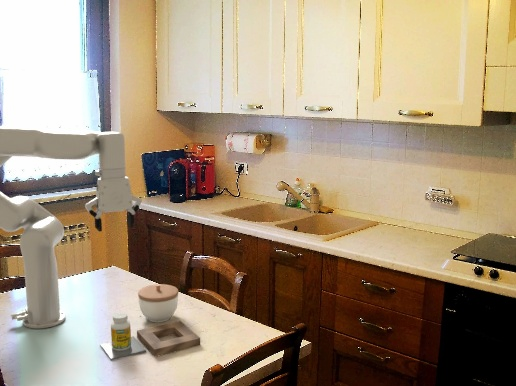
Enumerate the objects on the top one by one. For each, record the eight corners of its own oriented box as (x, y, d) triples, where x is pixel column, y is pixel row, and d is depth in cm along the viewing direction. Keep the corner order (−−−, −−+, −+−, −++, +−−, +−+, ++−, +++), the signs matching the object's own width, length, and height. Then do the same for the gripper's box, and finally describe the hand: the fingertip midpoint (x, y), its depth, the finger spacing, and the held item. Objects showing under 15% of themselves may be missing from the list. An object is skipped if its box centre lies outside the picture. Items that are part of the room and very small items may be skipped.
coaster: (111, 360, 154) (110, 358, 154) (100, 346, 162) (100, 344, 162) (146, 351, 159) (145, 349, 159) (133, 338, 168) (133, 336, 168)
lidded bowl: (159, 307, 191) (158, 275, 189) (186, 316, 184) (186, 283, 182) (130, 319, 181) (129, 286, 179) (158, 329, 174) (158, 295, 171)
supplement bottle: (127, 341, 164) (126, 310, 162) (134, 348, 160) (133, 316, 158) (109, 345, 161) (107, 314, 160) (115, 353, 157) (114, 320, 155)
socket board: (154, 356, 157) (154, 349, 156) (137, 337, 168) (136, 330, 168) (200, 345, 164) (200, 338, 163) (180, 327, 175) (180, 320, 175)
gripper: (87, 177, 162) (90, 235, 166) (144, 173, 171) (146, 227, 175) (80, 173, 169) (83, 229, 172) (136, 169, 178) (137, 222, 181)
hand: (114, 228), depth 173 cm, fingers open, 9 cm apart
